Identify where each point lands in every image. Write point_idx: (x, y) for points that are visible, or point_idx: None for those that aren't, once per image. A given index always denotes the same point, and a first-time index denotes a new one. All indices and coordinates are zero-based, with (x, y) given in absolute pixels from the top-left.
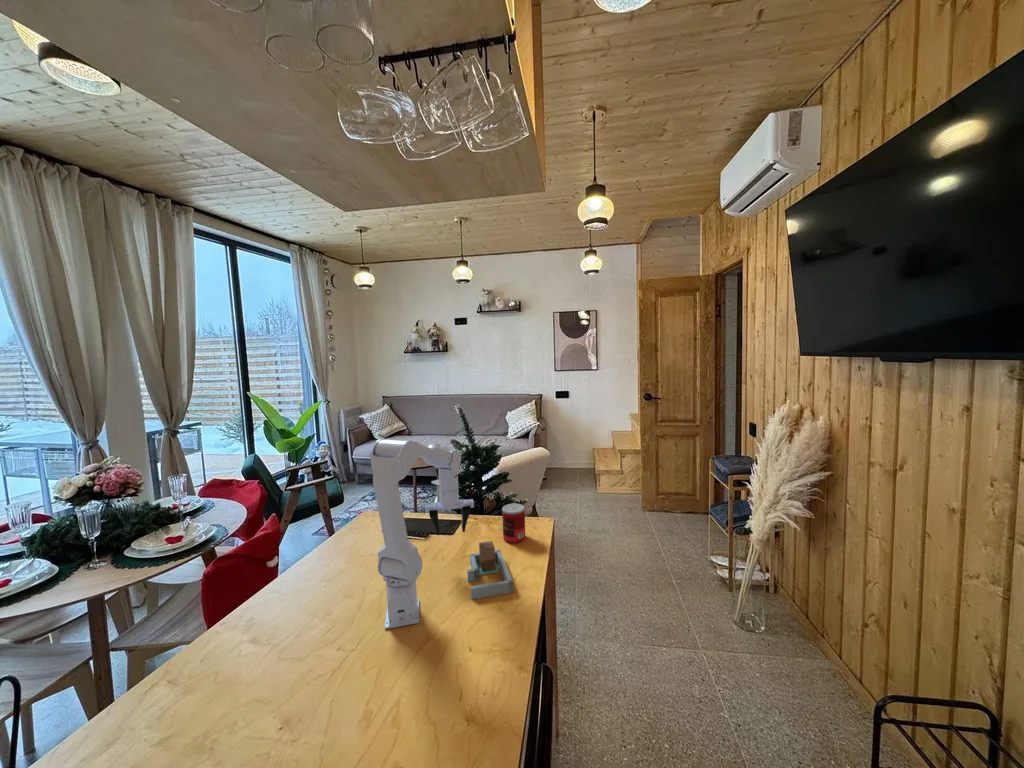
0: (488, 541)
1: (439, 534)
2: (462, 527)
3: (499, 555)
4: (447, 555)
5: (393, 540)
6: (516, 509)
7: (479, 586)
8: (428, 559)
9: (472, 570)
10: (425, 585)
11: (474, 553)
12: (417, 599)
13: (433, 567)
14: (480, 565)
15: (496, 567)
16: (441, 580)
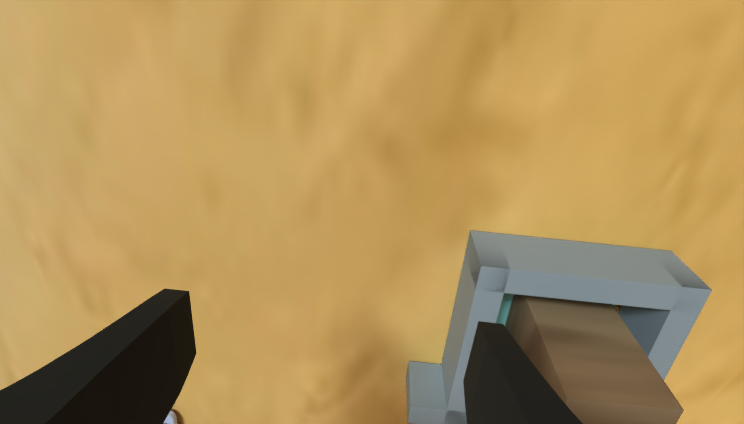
0: (651, 405)
1: (192, 361)
2: (474, 407)
3: (659, 350)
4: (340, 63)
5: None
6: None
7: None
8: (193, 67)
9: (436, 420)
10: (196, 330)
11: (515, 269)
12: (167, 421)
13: (233, 187)
14: (514, 302)
15: None
16: (277, 321)
